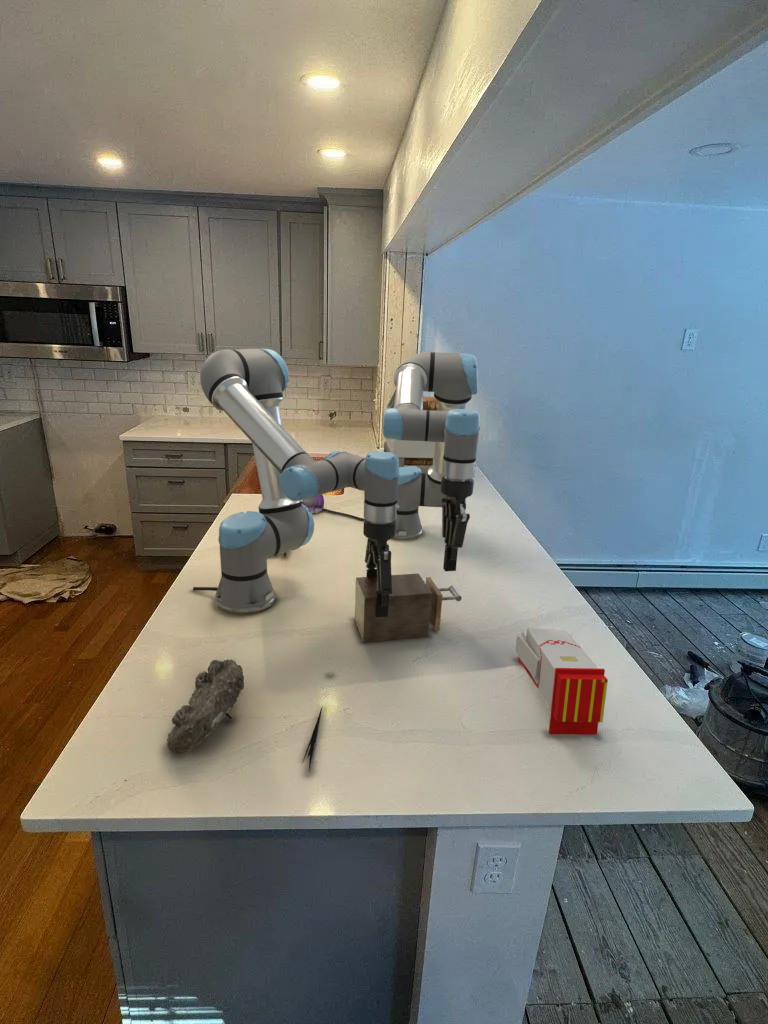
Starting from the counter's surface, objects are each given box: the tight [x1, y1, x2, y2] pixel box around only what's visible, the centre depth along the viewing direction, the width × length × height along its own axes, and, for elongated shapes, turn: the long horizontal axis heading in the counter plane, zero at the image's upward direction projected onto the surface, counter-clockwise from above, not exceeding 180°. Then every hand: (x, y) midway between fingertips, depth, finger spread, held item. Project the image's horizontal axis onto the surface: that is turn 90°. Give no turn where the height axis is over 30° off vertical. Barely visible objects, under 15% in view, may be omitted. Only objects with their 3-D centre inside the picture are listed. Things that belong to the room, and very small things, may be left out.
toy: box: [514, 627, 609, 736], centre depth 119 cm, size 12×13×30 cm
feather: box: [301, 673, 332, 771], centre depth 108 cm, size 2×28×2 cm
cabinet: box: [354, 572, 432, 643], centre depth 139 cm, size 16×11×12 cm, turn 104°
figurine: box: [302, 494, 325, 514], centre depth 216 cm, size 9×10×15 cm
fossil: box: [166, 658, 245, 754], centre depth 106 cm, size 22×10×15 cm
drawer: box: [425, 576, 463, 632], centre depth 141 cm, size 21×10×10 cm, turn 104°
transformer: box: [383, 389, 438, 467], centre depth 268 cm, size 34×33×41 cm
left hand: (376, 604), depth 138 cm, fingers closed on cabinet, 11 cm apart
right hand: (449, 569), depth 139 cm, fingers closed
